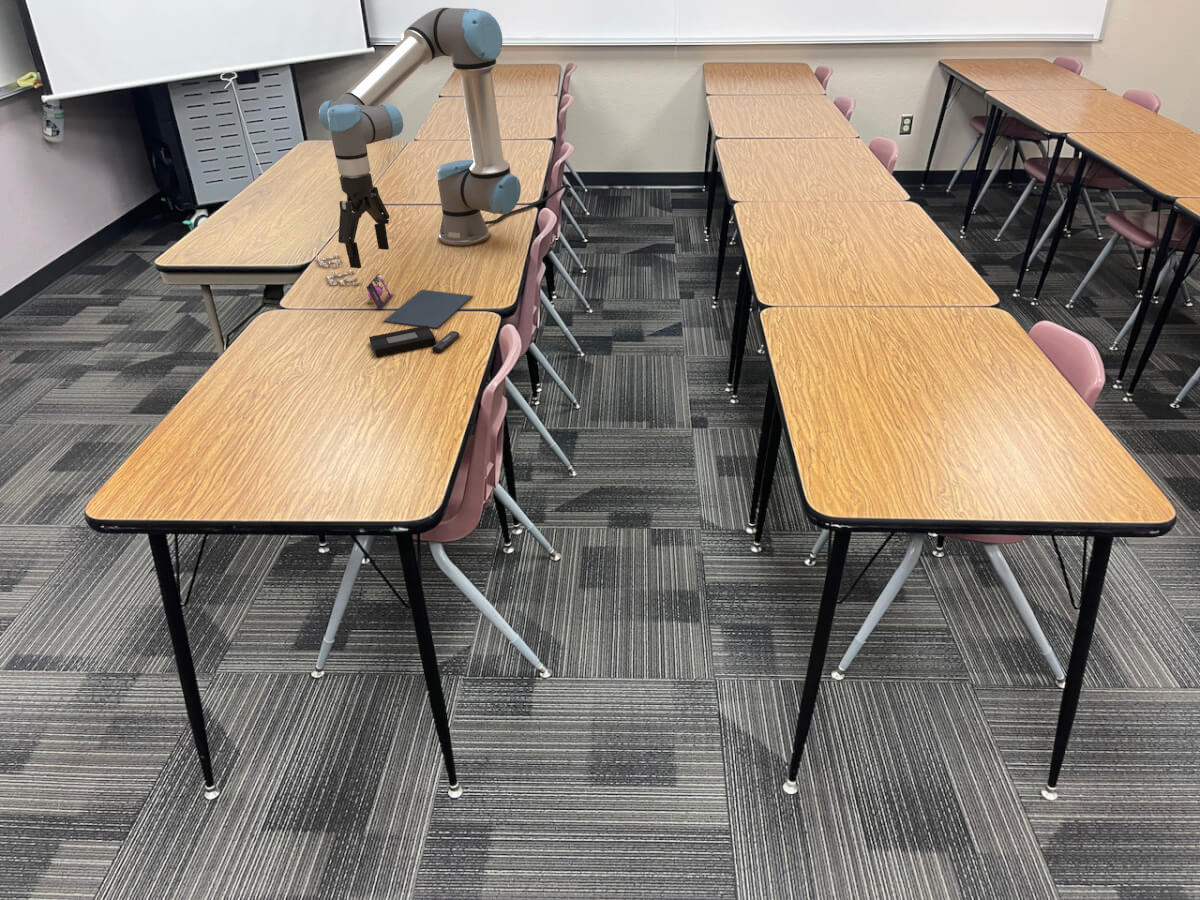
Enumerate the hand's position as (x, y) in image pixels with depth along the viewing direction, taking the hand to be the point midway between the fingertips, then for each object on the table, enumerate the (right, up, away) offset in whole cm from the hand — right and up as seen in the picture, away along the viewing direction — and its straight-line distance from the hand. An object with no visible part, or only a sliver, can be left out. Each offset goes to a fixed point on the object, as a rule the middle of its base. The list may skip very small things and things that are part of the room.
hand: (370, 258), depth 209 cm
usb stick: (+22, -24, -14) cm, 35 cm away
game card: (0, -10, +7) cm, 13 cm away
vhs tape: (+12, -24, -13) cm, 30 cm away
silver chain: (-17, +2, +26) cm, 31 cm away
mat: (+15, -13, +3) cm, 20 cm away
